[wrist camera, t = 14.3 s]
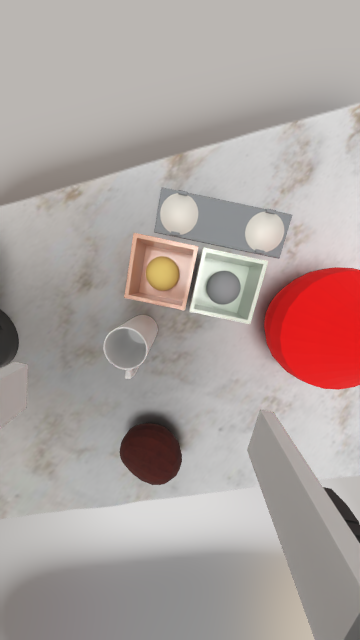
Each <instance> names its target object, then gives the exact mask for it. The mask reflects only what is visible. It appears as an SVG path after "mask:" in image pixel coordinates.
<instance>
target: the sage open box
mask: <svg viewBox="0 0 360 640" xmlns="http://www.w3.org/2000/svg"><path fill="white" fill-rule="evenodd" d="M267 264H268V261H265V260H261V259H256V258H251V257H246V256H242V255H237V254H232V253H227V252H223V251H218V250H213V249H208V248H203V250H202V252H201V254H200V259H199V264H198V268H197V273H196V277H195V282H194V287H193V291H192V296H191V300H190V305H189V309H190V312H194V313H199V314H204V315H209V316H213V317H218V318H223V319H228V320H232V321H237V322H242V323H247V324H250V323H251V320H252V316H253V313H254V309H255V306H256V302H257V299H258V295H259V292H260V288H261V285H262V282H263V278H264V275H265V271H266V268H267ZM219 271H230V272H232V273H234V274H235V275H236V276H237V277H238V279H239V281H240V285H241V290H240V293H239V295H238V297H237V298H236V299H235V300H234V301H233V302H231V303H229V304H224V305H222V304H217V303H215V302H213V301H212V300H211V299H210V298H209V296H208V294H207V290H206V286H207V282H208V280H209V278H210V277H211V276H212V275H213V274H214V273H216V272H219Z"/></svg>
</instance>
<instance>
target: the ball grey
mask: <svg viewBox="0 0 360 640" xmlns="http://www.w3.org/2000/svg"><path fill="white" fill-rule="evenodd" d="M206 290H207V294H208V296H209V298H210V299H211V300H212V301H213V302H215V303H217V304H222V305H224V304H229V303H231V302H233V301H234V300H235V299H236V298H237V297H238V295H239V293H240V290H241V285H240V281H239V279H238V277H237V276H236V275H235V274H234V273H232V272H230V271H219V272H216V273H214V274H213V275H212V276H211V277H210V278H209V280H208V282H207V286H206Z"/></svg>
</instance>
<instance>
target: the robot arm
mask: <svg viewBox="0 0 360 640" xmlns="http://www.w3.org/2000/svg"><path fill="white" fill-rule="evenodd" d="M17 349H18V335H17V332H16V329H15V327H14V325H13V323H12V321H11V320H10V319H9V317H8V316H7V315H6V314H5V313H4V312H2V311H1V310H0V367H2V366H5V365H6V364H8V363H9V362H10V361H11V360H12V359H13V358H14V356H15V355H16V352H17ZM27 381H28V364H23V363H18V362H13V363H11V364H9V365H7V366H5V367H3V368H0V429H1V428H2V427H3V426H5V425H6V424H7V423H8V422H9V421H11V420H12V419H13V418H14V417H16V416H17V415H18V414H19V413H21V412H22V411H23V410H24V409H26V408H27ZM247 451H248V454H249V457H250V459H251V462H252V465H253V468H254V471H255V473H256V476H257V479H258V482H259V485H260V487H261V490H262V493H263V496H264V498H265V501H266V504H267V507H268V510H269V513H270V515H271V518H272V521H273V524H274V527H275V529H276V532H277V535H278V538H279V541H280V543H281V545H282V549H283V552H284V555H285V557H286V560H287V563H288V566H289V568H290V571H291V574H292V577H293V580H294V583H295V585H296V588H297V591H298V594H299V597H300V599H301V602H302V605H303V608H304V610H305V613H306V616H307V619H308V622H309V625H310V627H311V630H312V633H313V636H314V639H315V640H360V525H359V521H358V520H357V519H356V517H355V516H354V514H353V513H352V512H351V510H350V509H349V507H348V506H347V505H346V504H345V503H344V502H343V500H342V499H340V498H339V496H338V495H336V493H335V492H334V491H333V490H332V489H329V488H324V487H322V485H321V484H320V482H319V481H318V479H317V478H316V476H315V475H314V473H313V471H312V470H311V468H310V467H309V465H308V464H307V462H306V461H305V459H304V458H303V456H302V455H301V453H300V452H299V450H298V449H297V447H296V446H295V444H294V443H293V441H292V439H291V438H290V436H289V435H288V433H287V432H286V430H285V429H284V427H283V426H282V424H281V423H280V421H279V420H278V418H277V417H276V415H275V414H274V412H270V411H265V410H260V412H259V415H258V418H257V421H256V424H255V427H254V430H253V434H252V437H251V440H250V443H249V446H248V449H247Z"/></svg>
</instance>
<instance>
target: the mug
mask: <svg viewBox="0 0 360 640" xmlns="http://www.w3.org/2000/svg"><path fill="white" fill-rule="evenodd" d="M157 333H158V327H157V324H156V322H155V321H154V320H153V319H152V318H151V317H149V316H147V315H138V316H136V317H134V318H132V319H130V320H129V321H127V322H125V323H124V324H122V325H120V326H118V327H117V328H115V329H114V330H112V331H111V332H110V333H109V334H108V335H107V336H106V338H105V340H104V345H103V349H104V354H105V356H106V358H107V360H108V361H109V362H110V363H111V364H112V365H113V366H115V367H117V368H119V369H123V370H126V371H125V378H126V379H130V378H132V377H134V376H135V374H136V372H137V370H138V368H139V366H140V365H141V364H142V363H143V362H144V360H145V359H146V357H147V355H148V353H149V351H150V348H151V346H152V344H153V342H154V340H155V338H156V336H157Z"/></svg>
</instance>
